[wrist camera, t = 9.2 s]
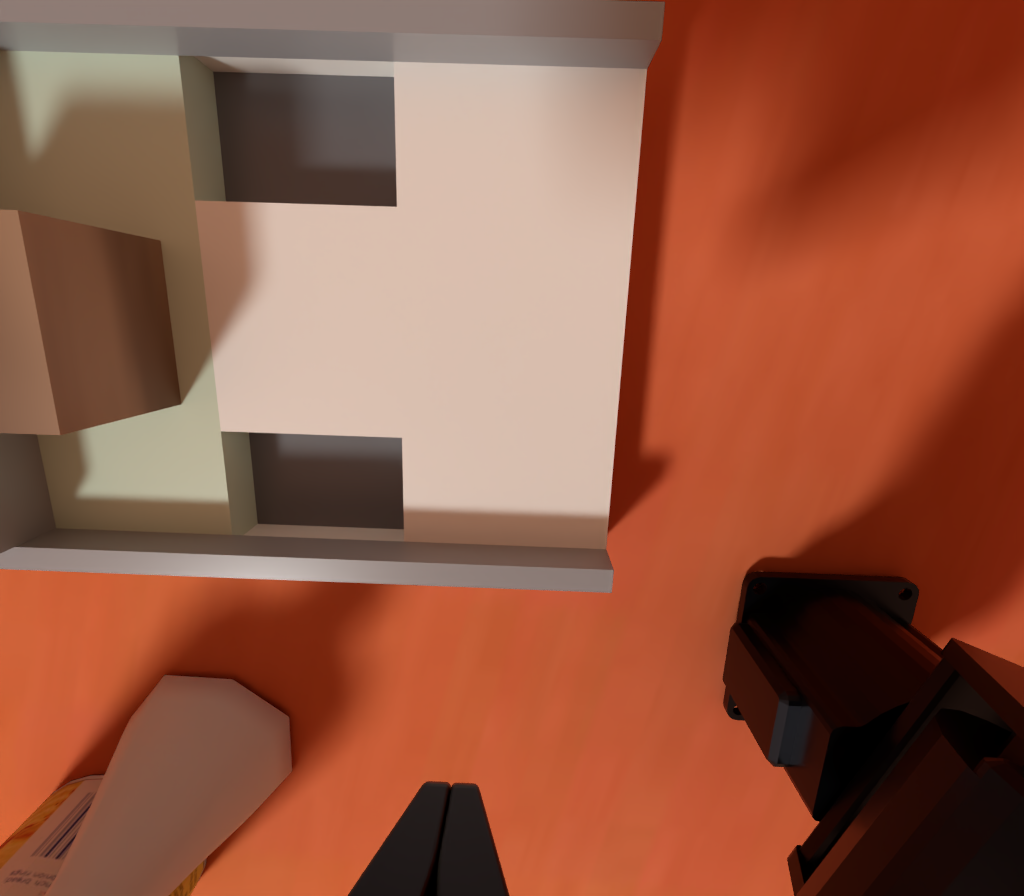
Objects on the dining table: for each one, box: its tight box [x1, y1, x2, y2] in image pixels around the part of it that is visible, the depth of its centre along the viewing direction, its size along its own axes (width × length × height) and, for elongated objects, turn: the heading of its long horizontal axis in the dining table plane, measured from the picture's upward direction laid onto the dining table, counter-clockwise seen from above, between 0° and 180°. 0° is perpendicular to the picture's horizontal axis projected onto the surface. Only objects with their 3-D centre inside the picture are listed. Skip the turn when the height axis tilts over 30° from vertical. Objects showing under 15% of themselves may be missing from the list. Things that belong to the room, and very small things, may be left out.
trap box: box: [0, 0, 665, 593], centre depth 16 cm, size 20×16×4 cm
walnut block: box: [0, 210, 181, 435], centre depth 14 cm, size 5×5×4 cm
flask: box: [44, 675, 292, 896], centre depth 18 cm, size 7×7×10 cm
